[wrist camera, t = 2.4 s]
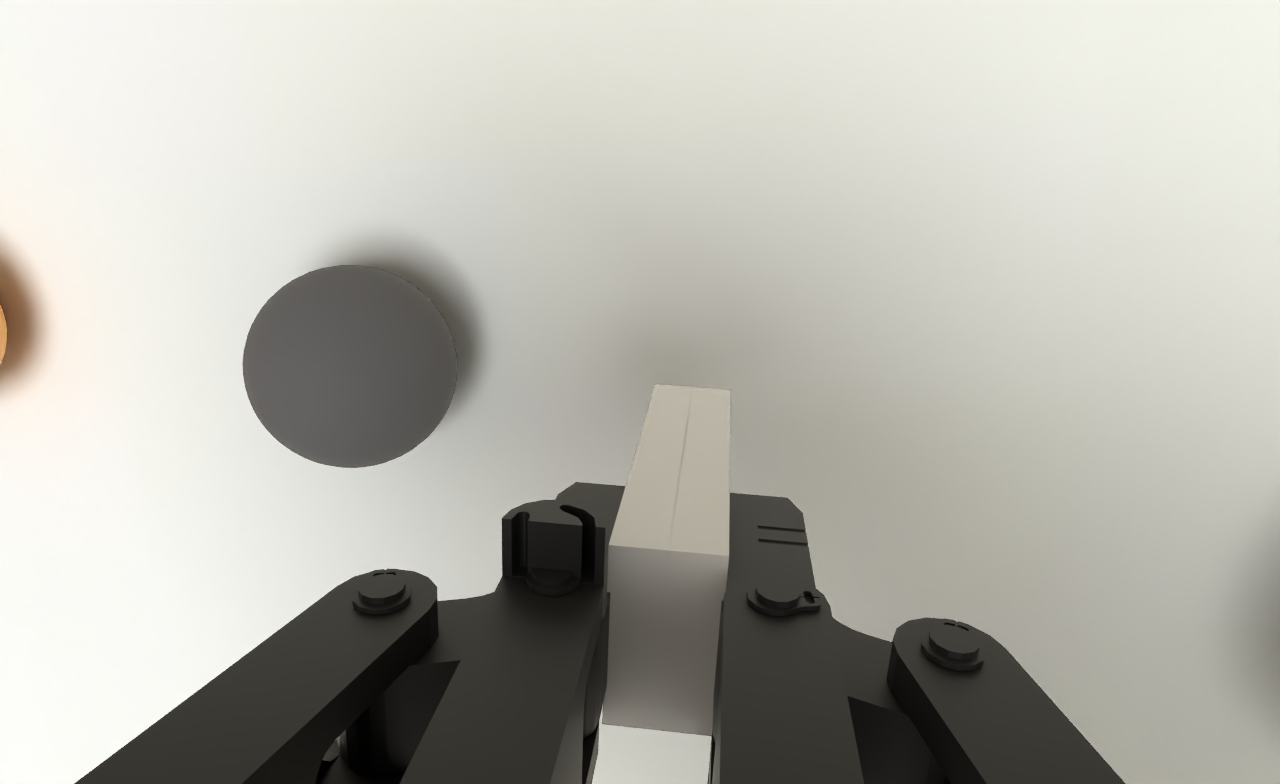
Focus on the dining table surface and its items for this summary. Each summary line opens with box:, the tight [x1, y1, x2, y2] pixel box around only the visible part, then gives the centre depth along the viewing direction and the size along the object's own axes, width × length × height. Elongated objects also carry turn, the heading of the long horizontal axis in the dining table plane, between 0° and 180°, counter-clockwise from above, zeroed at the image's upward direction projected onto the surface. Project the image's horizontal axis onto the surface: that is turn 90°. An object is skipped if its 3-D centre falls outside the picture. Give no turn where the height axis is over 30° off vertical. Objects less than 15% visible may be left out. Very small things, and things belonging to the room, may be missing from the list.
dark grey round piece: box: [243, 265, 457, 468], centre depth 23 cm, size 6×6×6 cm
